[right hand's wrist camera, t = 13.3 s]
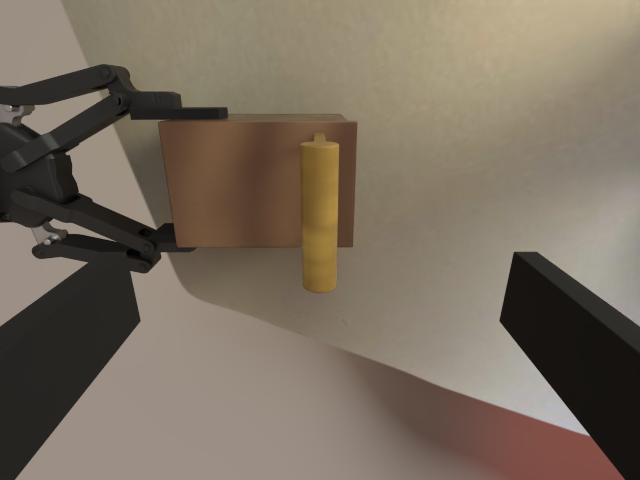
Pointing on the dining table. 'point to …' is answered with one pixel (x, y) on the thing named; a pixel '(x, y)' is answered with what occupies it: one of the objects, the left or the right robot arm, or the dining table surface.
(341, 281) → the dining table surface
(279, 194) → the lid
